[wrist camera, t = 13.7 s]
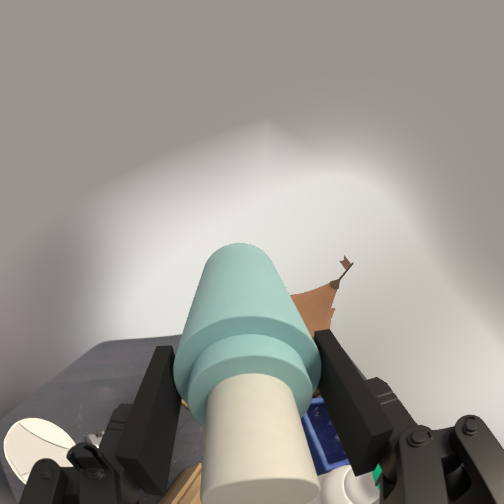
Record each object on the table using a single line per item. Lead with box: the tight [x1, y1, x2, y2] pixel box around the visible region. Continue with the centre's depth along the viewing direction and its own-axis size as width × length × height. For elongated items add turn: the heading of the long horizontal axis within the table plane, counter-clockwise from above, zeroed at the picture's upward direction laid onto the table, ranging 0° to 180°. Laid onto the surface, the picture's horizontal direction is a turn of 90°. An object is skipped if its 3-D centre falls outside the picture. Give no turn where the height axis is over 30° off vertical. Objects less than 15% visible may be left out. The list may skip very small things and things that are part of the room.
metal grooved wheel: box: [85, 429, 105, 447], centre depth 23 cm, size 5×3×5 cm, turn 42°
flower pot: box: [300, 398, 350, 475], centre depth 36 cm, size 13×13×12 cm
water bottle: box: [308, 464, 382, 504], centre depth 21 cm, size 7×7×25 cm
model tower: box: [290, 256, 353, 341], centre depth 48 cm, size 10×11×30 cm
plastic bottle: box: [173, 243, 321, 504], centre depth 15 cm, size 20×7×7 cm
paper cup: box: [4, 418, 76, 484], centre depth 14 cm, size 8×8×14 cm
